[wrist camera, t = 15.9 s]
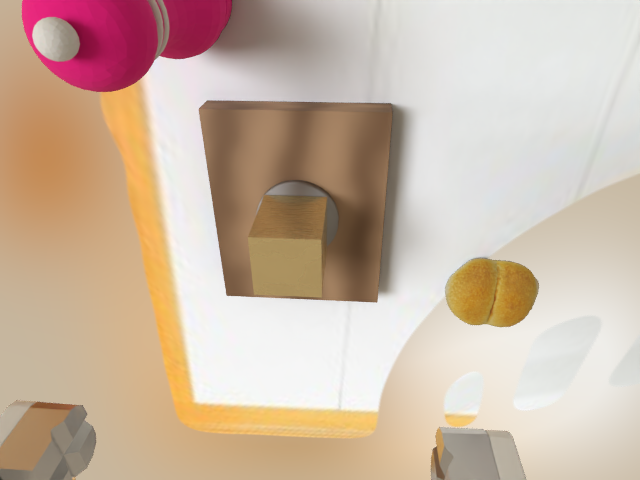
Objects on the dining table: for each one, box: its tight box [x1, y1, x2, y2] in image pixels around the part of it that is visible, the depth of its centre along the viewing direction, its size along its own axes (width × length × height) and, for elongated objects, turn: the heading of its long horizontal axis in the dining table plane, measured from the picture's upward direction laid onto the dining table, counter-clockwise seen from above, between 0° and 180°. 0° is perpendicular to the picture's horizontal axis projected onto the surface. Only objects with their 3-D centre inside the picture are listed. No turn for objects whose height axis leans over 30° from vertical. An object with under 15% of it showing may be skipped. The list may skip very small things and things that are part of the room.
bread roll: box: [445, 258, 539, 327], centre depth 47 cm, size 8×9×4 cm
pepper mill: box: [22, 0, 232, 92], centre depth 27 cm, size 7×7×20 cm
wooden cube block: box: [248, 195, 327, 298], centre depth 39 cm, size 6×6×7 cm
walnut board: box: [199, 101, 393, 302], centre depth 41 cm, size 16×20×10 cm
